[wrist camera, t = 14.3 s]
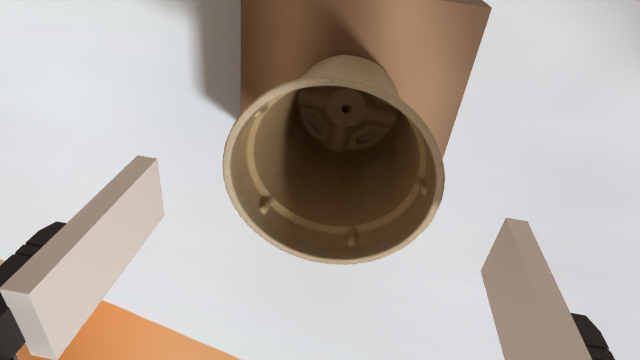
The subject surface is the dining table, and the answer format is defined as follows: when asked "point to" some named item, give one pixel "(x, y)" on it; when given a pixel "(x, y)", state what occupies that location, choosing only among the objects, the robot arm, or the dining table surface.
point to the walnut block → (368, 48)
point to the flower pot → (334, 165)
